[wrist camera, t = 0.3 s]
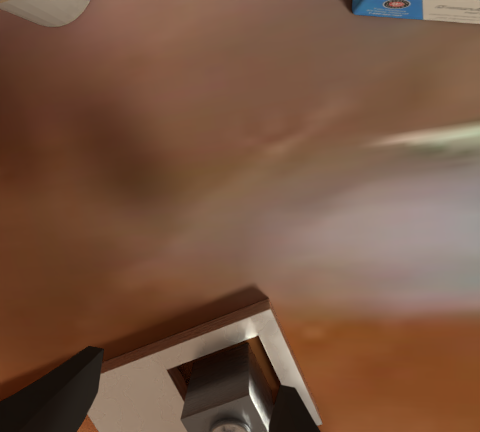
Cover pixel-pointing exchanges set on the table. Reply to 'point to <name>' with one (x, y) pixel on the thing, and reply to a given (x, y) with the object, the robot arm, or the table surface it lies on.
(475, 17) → the ink box
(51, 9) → the coffee cup
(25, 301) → the table surface
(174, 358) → the plate with square hole
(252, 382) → the grey knobbed block
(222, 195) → the table surface
